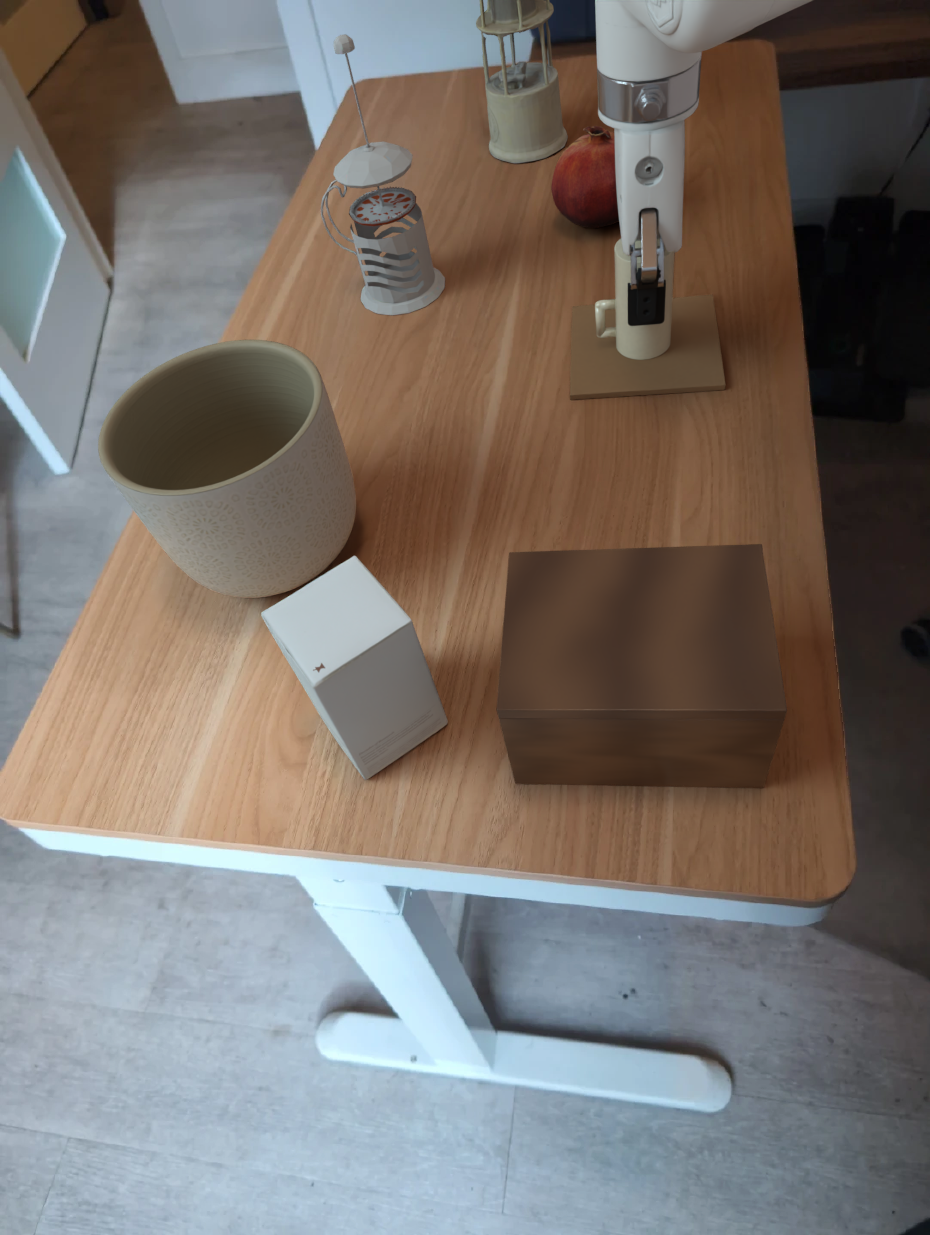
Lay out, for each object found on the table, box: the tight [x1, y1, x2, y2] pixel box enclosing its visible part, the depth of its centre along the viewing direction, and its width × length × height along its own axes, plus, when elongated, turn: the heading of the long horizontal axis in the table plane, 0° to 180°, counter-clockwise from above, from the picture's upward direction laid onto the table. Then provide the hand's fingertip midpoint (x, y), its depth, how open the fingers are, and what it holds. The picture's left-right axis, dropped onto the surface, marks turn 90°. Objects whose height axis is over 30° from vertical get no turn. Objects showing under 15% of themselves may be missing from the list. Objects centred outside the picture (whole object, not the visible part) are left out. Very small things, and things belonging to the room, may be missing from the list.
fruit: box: [550, 125, 619, 229], centre depth 92 cm, size 11×10×10 cm
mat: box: [569, 293, 726, 401], centre depth 81 cm, size 14×14×1 cm
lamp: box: [475, 0, 569, 164], centre depth 98 cm, size 10×13×30 cm
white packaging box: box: [260, 555, 449, 781], centre depth 56 cm, size 7×7×13 cm
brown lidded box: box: [496, 543, 788, 789], centre depth 54 cm, size 16×12×10 cm
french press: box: [320, 33, 446, 316], centre depth 84 cm, size 10×12×25 cm
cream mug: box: [594, 237, 676, 360], centre depth 77 cm, size 7×5×10 cm
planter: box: [97, 339, 357, 599], centre depth 67 cm, size 17×17×15 cm
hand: (644, 297), depth 77 cm, fingers open, 6 cm apart
